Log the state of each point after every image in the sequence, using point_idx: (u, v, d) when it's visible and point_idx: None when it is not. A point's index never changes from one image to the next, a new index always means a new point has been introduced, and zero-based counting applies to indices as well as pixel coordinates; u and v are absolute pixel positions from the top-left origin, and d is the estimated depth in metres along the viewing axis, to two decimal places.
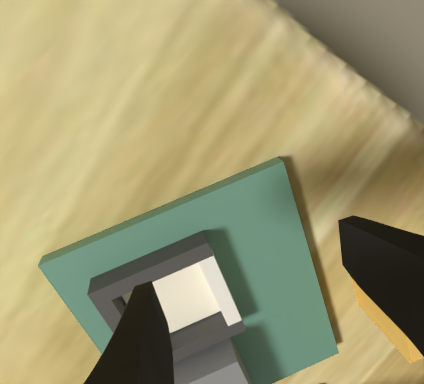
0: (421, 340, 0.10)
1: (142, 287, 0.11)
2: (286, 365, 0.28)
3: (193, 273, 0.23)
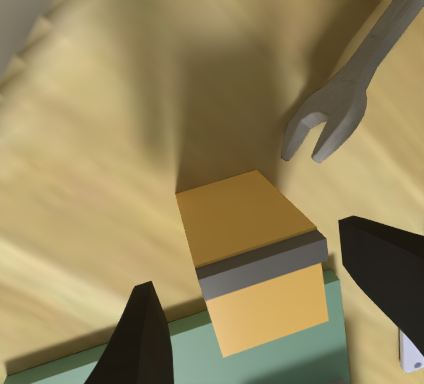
0: (421, 340, 0.10)
1: (142, 287, 0.11)
2: (326, 346, 0.20)
3: None
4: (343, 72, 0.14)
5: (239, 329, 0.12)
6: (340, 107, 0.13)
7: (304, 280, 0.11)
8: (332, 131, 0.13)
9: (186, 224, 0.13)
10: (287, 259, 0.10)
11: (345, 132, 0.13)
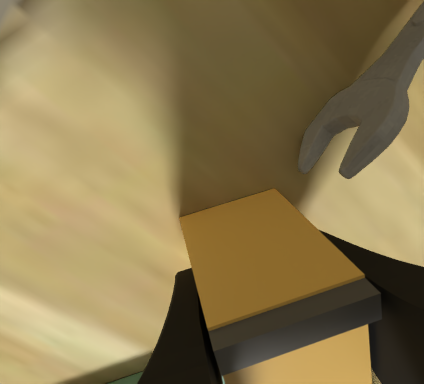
0: (372, 358, 0.10)
1: (186, 273, 0.12)
2: None
3: None
4: (377, 68, 0.12)
5: None
6: (376, 110, 0.10)
7: (345, 338, 0.09)
8: (366, 139, 0.10)
9: (194, 261, 0.11)
10: (330, 321, 0.08)
11: (383, 141, 0.10)
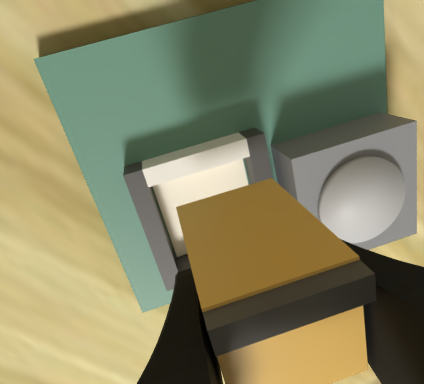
0: (372, 358, 0.10)
1: (186, 273, 0.12)
2: (365, 62, 0.19)
3: (179, 180, 0.20)
4: None
5: None
6: None
7: (340, 322, 0.09)
8: None
9: (189, 247, 0.11)
10: (324, 302, 0.08)
11: None
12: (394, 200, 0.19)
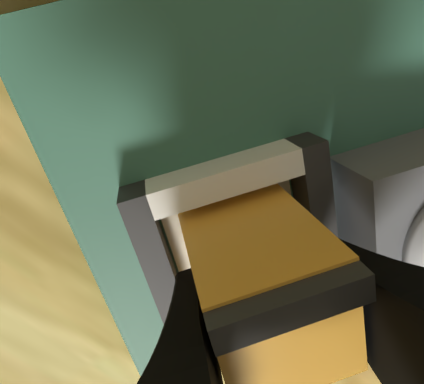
0: (372, 358, 0.10)
1: (186, 273, 0.12)
2: None
3: None
4: None
5: None
6: None
7: (340, 322, 0.09)
8: None
9: (189, 247, 0.11)
10: (324, 302, 0.08)
11: None
12: None
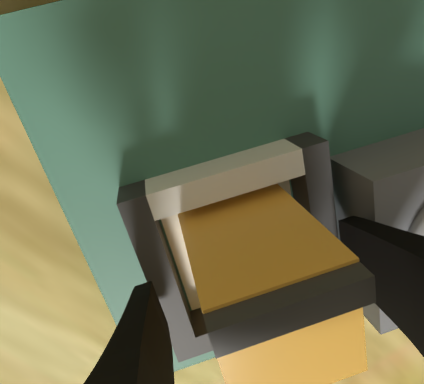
0: (421, 340, 0.10)
1: (142, 287, 0.11)
2: None
3: None
4: None
5: None
6: None
7: (340, 323, 0.09)
8: None
9: (189, 248, 0.11)
10: (324, 304, 0.08)
11: None
12: None
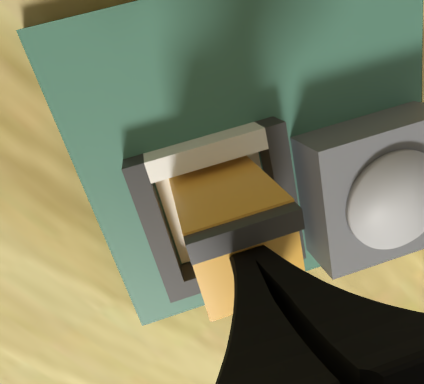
0: None
1: (242, 255, 0.12)
2: (399, 42, 0.17)
3: None
4: None
5: (225, 295, 0.13)
6: None
7: (283, 249, 0.13)
8: None
9: (176, 201, 0.14)
10: (267, 228, 0.11)
11: None
12: None
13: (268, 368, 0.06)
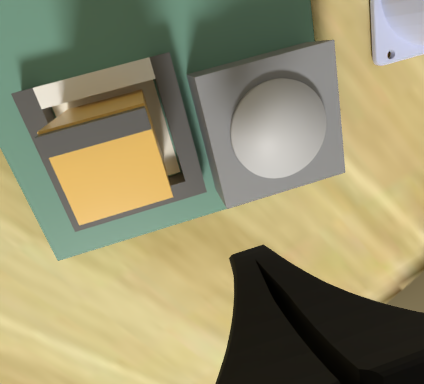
0: None
1: (242, 255, 0.12)
2: None
3: None
4: None
5: (89, 198, 0.14)
6: None
7: (141, 154, 0.14)
8: None
9: (56, 118, 0.15)
10: (113, 125, 0.12)
11: None
12: (314, 130, 0.18)
13: (268, 367, 0.06)
